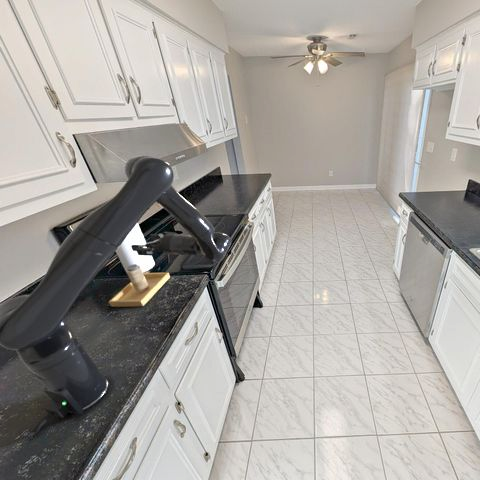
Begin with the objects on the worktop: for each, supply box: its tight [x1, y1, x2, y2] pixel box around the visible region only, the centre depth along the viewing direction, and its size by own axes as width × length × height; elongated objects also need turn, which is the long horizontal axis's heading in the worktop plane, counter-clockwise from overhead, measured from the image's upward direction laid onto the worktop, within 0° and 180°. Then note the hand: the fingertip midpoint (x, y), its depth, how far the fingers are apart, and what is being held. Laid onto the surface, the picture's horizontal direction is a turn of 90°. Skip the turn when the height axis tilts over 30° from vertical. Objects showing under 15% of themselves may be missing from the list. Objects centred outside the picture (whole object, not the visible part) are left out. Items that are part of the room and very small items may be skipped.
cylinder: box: [115, 222, 156, 273], centre depth 122 cm, size 12×12×25 cm
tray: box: [108, 272, 171, 308], centre depth 110 cm, size 20×14×3 cm
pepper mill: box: [125, 264, 149, 293], centre depth 108 cm, size 5×5×12 cm
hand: (142, 242), depth 97 cm, fingers open, 8 cm apart
